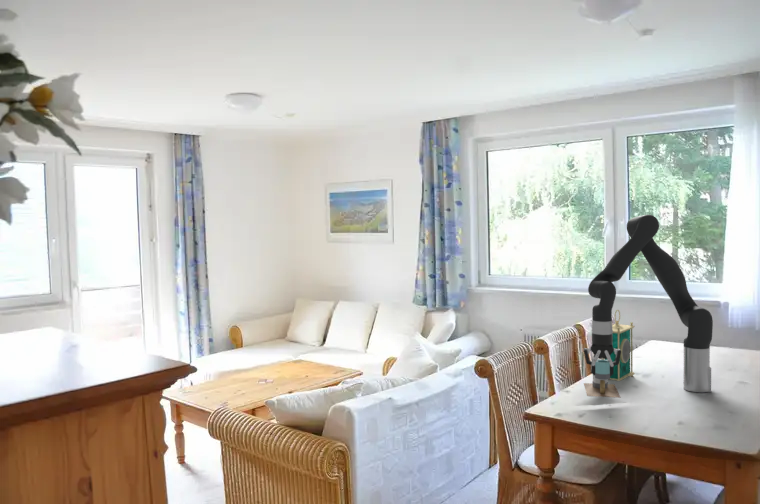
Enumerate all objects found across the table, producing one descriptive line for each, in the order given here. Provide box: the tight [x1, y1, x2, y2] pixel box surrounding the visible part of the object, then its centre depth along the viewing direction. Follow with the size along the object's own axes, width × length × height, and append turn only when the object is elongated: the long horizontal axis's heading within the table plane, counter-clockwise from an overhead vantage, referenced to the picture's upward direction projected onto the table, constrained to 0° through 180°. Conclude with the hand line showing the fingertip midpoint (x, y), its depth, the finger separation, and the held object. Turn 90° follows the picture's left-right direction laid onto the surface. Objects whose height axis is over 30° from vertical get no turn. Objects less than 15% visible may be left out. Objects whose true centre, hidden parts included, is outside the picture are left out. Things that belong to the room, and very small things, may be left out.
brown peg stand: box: [583, 380, 621, 399], centre depth 235 cm, size 12×18×6 cm, turn 165°
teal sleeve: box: [595, 358, 611, 380], centre depth 231 cm, size 5×5×6 cm
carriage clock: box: [601, 309, 636, 382], centre depth 256 cm, size 17×9×30 cm, turn 137°
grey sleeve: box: [592, 374, 609, 389], centre depth 240 cm, size 5×5×6 cm
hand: (602, 375), depth 231 cm, fingers closed on teal sleeve, 5 cm apart
